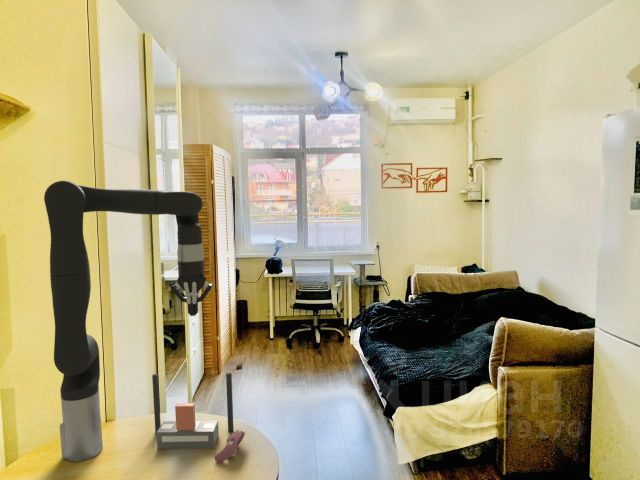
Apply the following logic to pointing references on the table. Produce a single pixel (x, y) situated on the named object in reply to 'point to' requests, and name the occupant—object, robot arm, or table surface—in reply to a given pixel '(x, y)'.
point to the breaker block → (187, 436)
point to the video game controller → (230, 446)
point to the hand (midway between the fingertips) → (193, 315)
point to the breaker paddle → (185, 416)
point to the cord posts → (157, 404)
